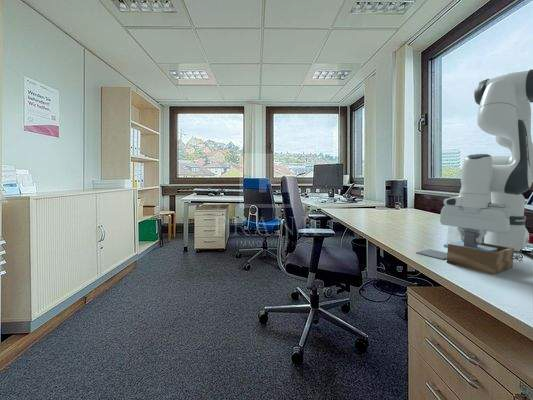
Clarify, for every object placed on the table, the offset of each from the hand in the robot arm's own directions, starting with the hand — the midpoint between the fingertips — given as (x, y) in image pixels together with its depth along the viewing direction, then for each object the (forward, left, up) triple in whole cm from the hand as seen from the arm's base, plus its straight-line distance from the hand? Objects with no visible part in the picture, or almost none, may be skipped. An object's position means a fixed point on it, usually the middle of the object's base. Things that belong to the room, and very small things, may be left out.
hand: (470, 241), depth 103 cm
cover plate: (0, 0, -3) cm, 3 cm away
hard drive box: (-17, -9, -8) cm, 21 cm away
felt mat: (0, -11, -7) cm, 14 cm away
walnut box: (0, +3, -7) cm, 8 cm away
